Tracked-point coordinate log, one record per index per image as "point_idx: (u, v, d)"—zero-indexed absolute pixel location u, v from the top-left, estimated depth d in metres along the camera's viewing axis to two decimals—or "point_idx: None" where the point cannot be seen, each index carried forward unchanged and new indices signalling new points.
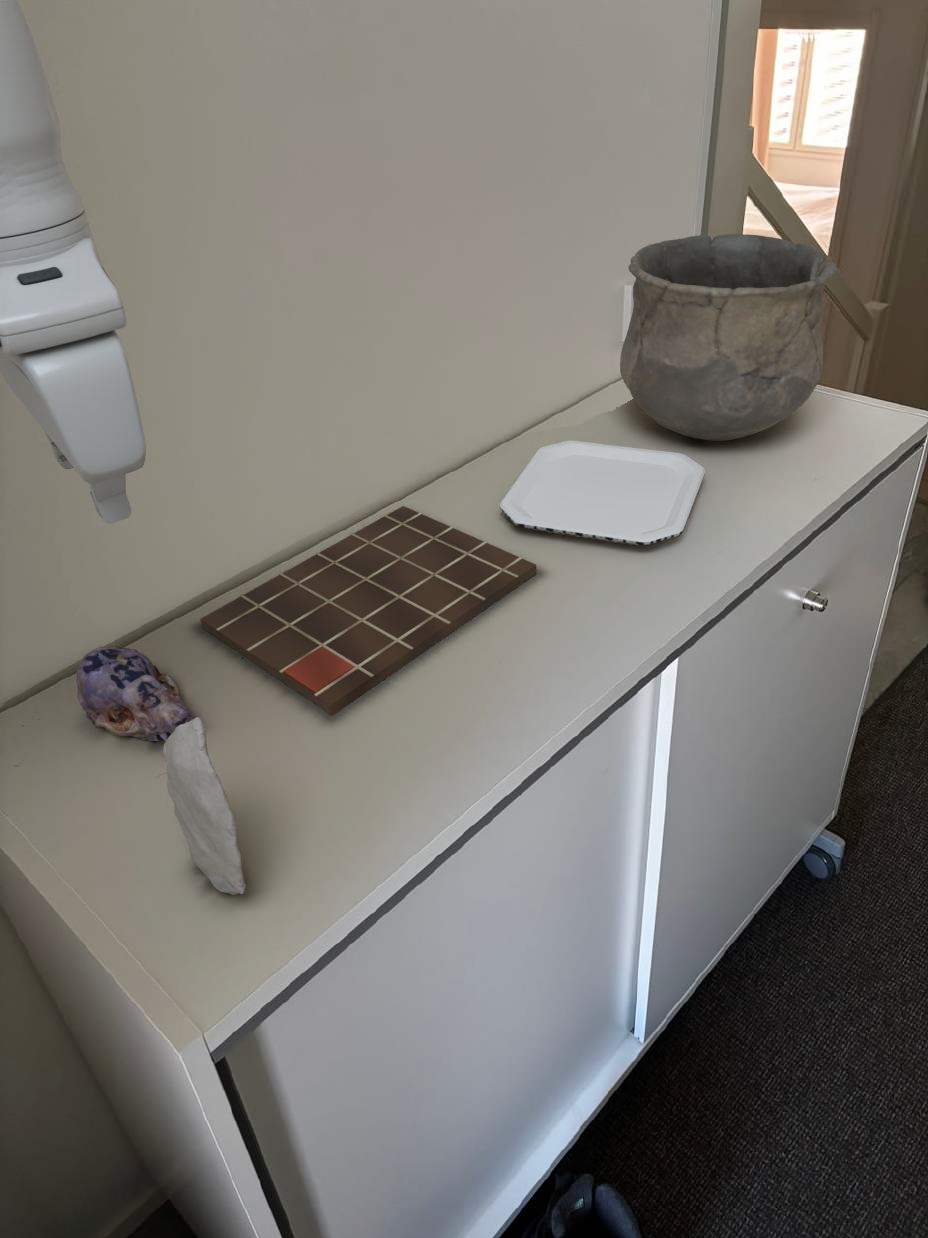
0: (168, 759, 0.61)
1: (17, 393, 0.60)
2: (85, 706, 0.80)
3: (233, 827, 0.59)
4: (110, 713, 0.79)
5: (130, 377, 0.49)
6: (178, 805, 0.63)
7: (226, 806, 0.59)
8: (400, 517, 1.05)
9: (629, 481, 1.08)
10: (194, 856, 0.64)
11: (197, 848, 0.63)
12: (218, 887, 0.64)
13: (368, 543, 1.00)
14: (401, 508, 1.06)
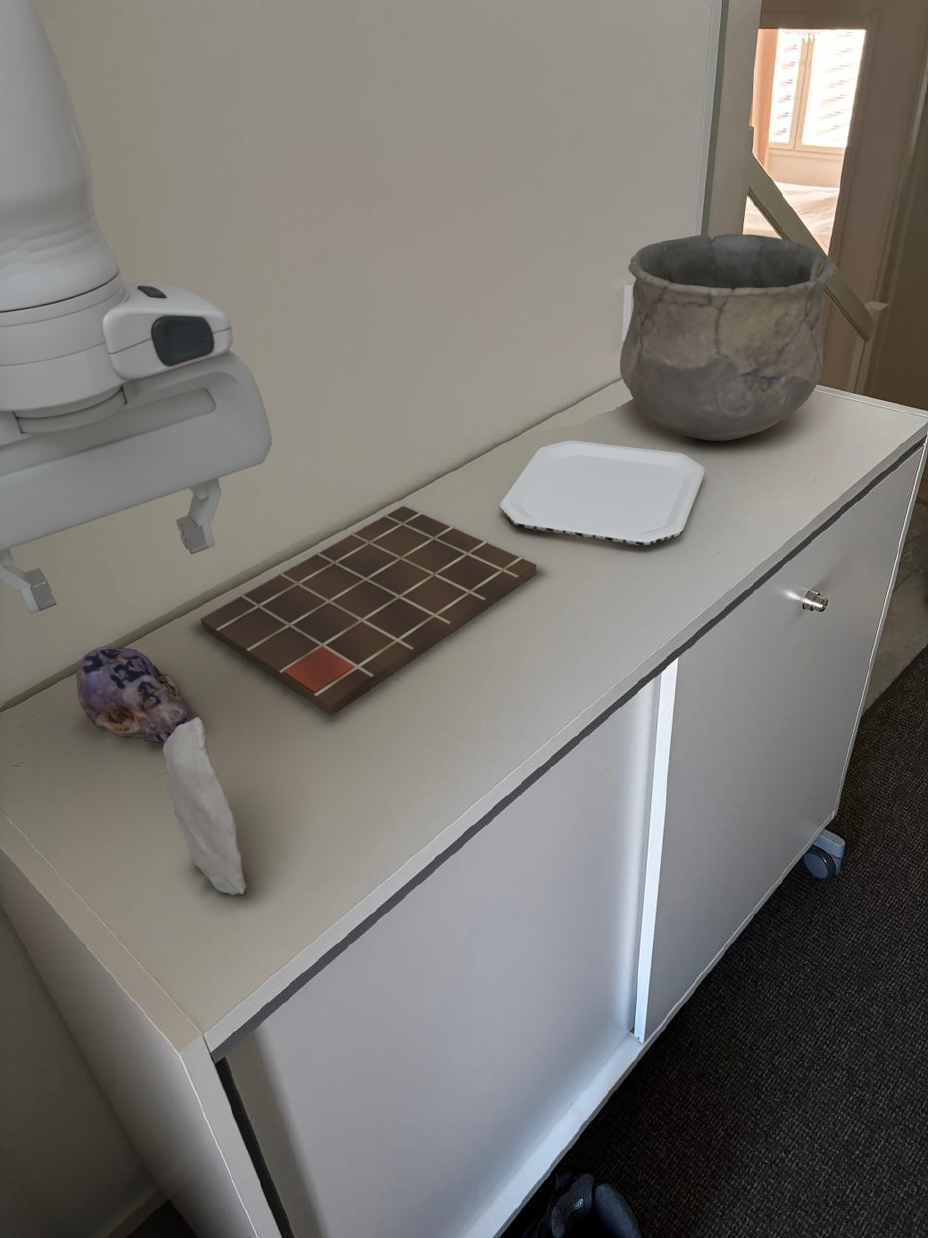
0: (168, 759, 0.61)
1: (11, 532, 0.47)
2: (85, 706, 0.80)
3: (233, 827, 0.59)
4: (110, 713, 0.79)
5: None
6: (178, 805, 0.63)
7: (226, 806, 0.59)
8: (400, 517, 1.05)
9: (629, 481, 1.08)
10: (194, 856, 0.64)
11: (197, 848, 0.63)
12: (218, 887, 0.64)
13: (368, 543, 1.00)
14: (401, 508, 1.06)
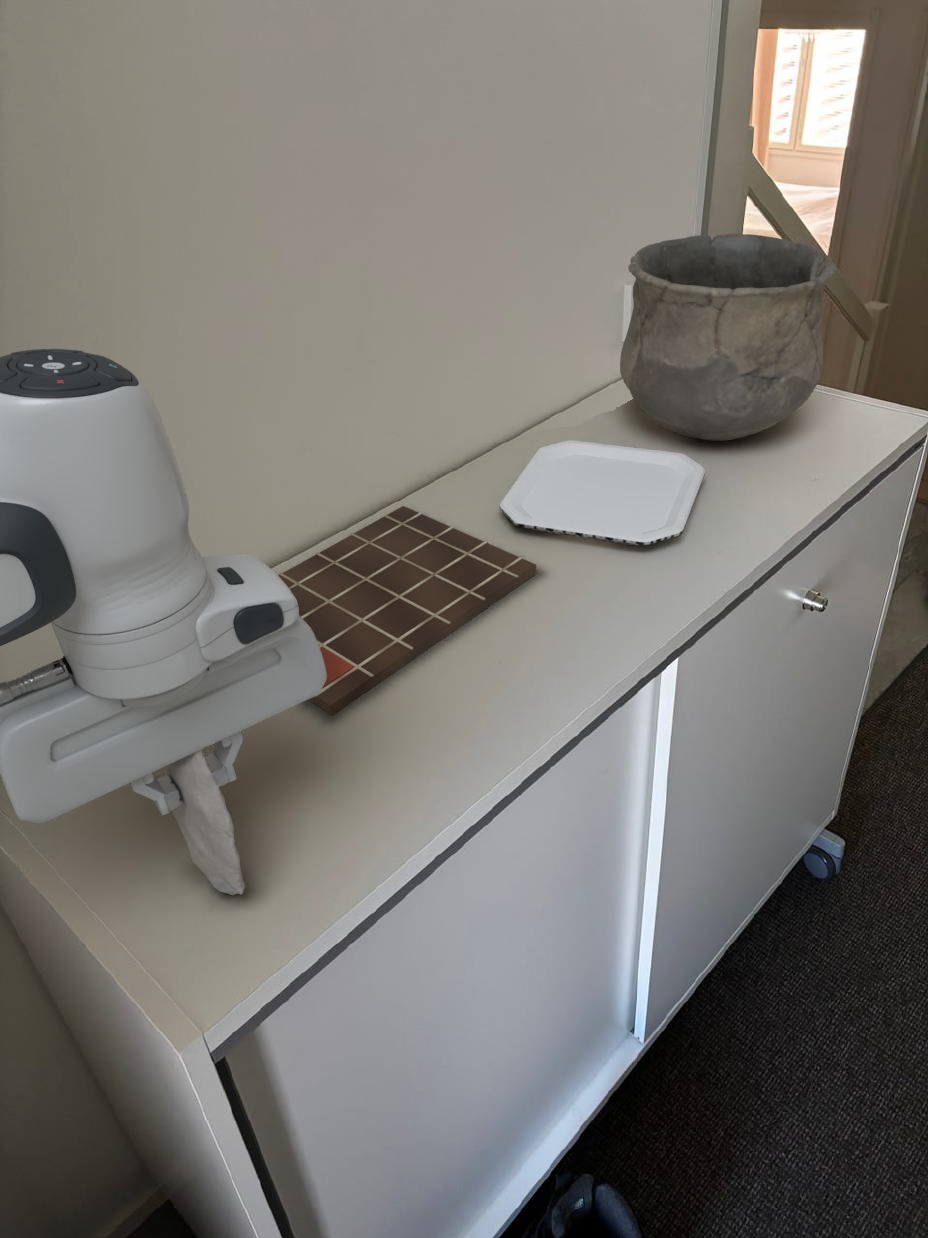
0: None
1: (110, 782, 0.55)
2: None
3: (231, 828, 0.59)
4: None
5: None
6: None
7: (223, 807, 0.59)
8: (400, 517, 1.05)
9: (629, 481, 1.08)
10: (193, 857, 0.64)
11: (196, 849, 0.63)
12: (218, 887, 0.64)
13: (368, 543, 1.00)
14: (401, 508, 1.06)
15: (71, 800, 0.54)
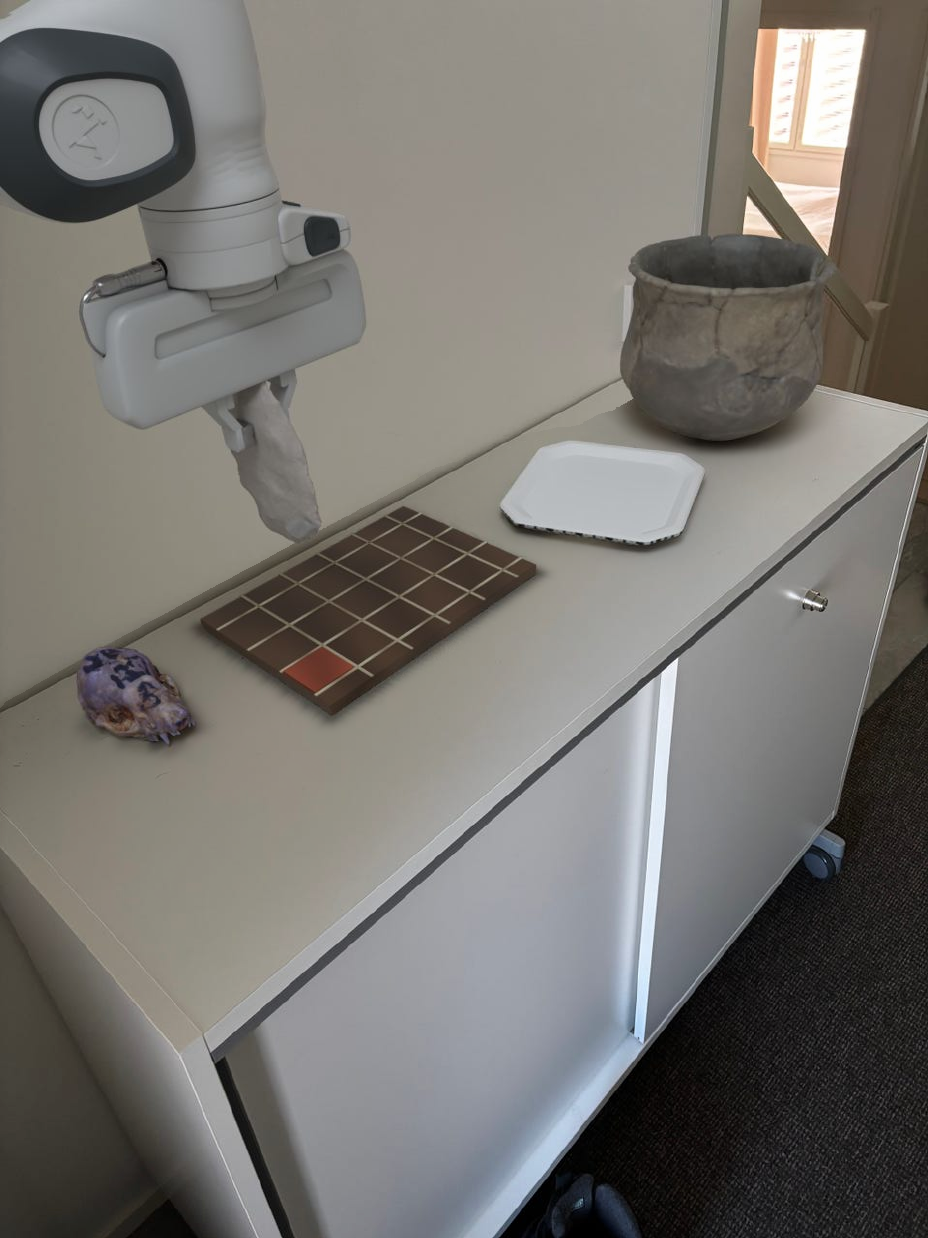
0: (231, 412, 0.67)
1: (200, 393, 0.60)
2: (85, 706, 0.80)
3: (304, 455, 0.66)
4: (110, 713, 0.79)
5: None
6: (246, 459, 0.69)
7: (294, 434, 0.65)
8: (400, 517, 1.05)
9: (629, 481, 1.08)
10: (268, 510, 0.71)
11: (271, 496, 0.70)
12: (295, 533, 0.71)
13: (368, 543, 1.00)
14: (401, 508, 1.06)
15: (170, 406, 0.59)
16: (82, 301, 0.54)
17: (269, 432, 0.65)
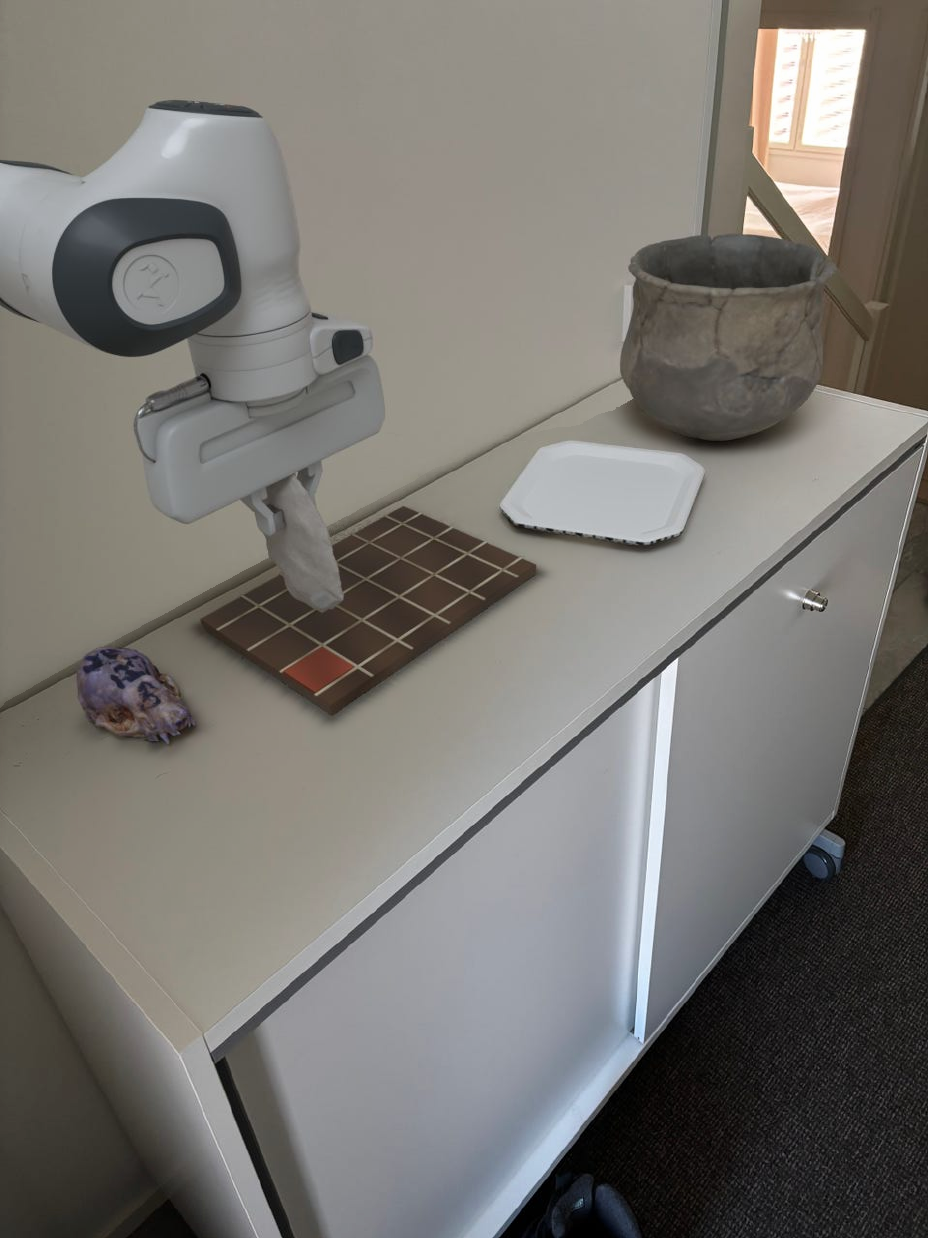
0: None
1: (238, 489, 0.67)
2: (85, 706, 0.80)
3: (329, 538, 0.72)
4: (110, 713, 0.79)
5: None
6: (275, 538, 0.76)
7: (321, 520, 0.72)
8: (400, 517, 1.05)
9: (629, 481, 1.08)
10: (295, 582, 0.78)
11: (298, 572, 0.76)
12: (319, 604, 0.78)
13: (368, 543, 1.00)
14: (401, 508, 1.06)
15: (211, 502, 0.66)
16: (137, 416, 0.61)
17: (298, 518, 0.72)
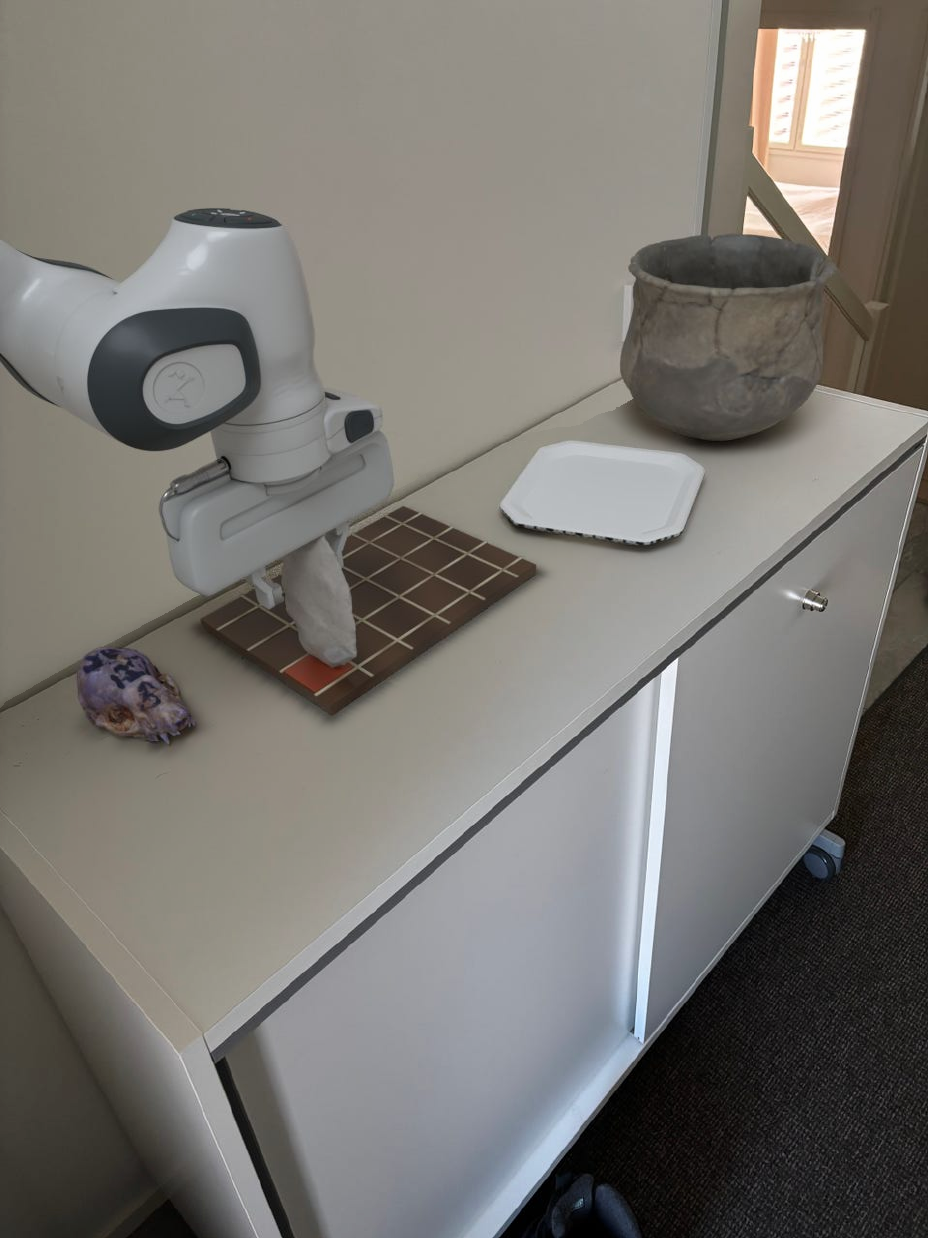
0: (289, 554, 0.78)
1: (256, 561, 0.71)
2: (85, 706, 0.80)
3: (350, 596, 0.77)
4: (110, 713, 0.79)
5: None
6: (297, 594, 0.80)
7: (344, 579, 0.76)
8: (400, 517, 1.05)
9: (629, 481, 1.08)
10: (310, 637, 0.81)
11: (315, 627, 0.80)
12: (332, 659, 0.82)
13: (368, 543, 1.00)
14: (401, 508, 1.06)
15: (231, 575, 0.70)
16: (162, 500, 0.65)
17: (322, 576, 0.76)
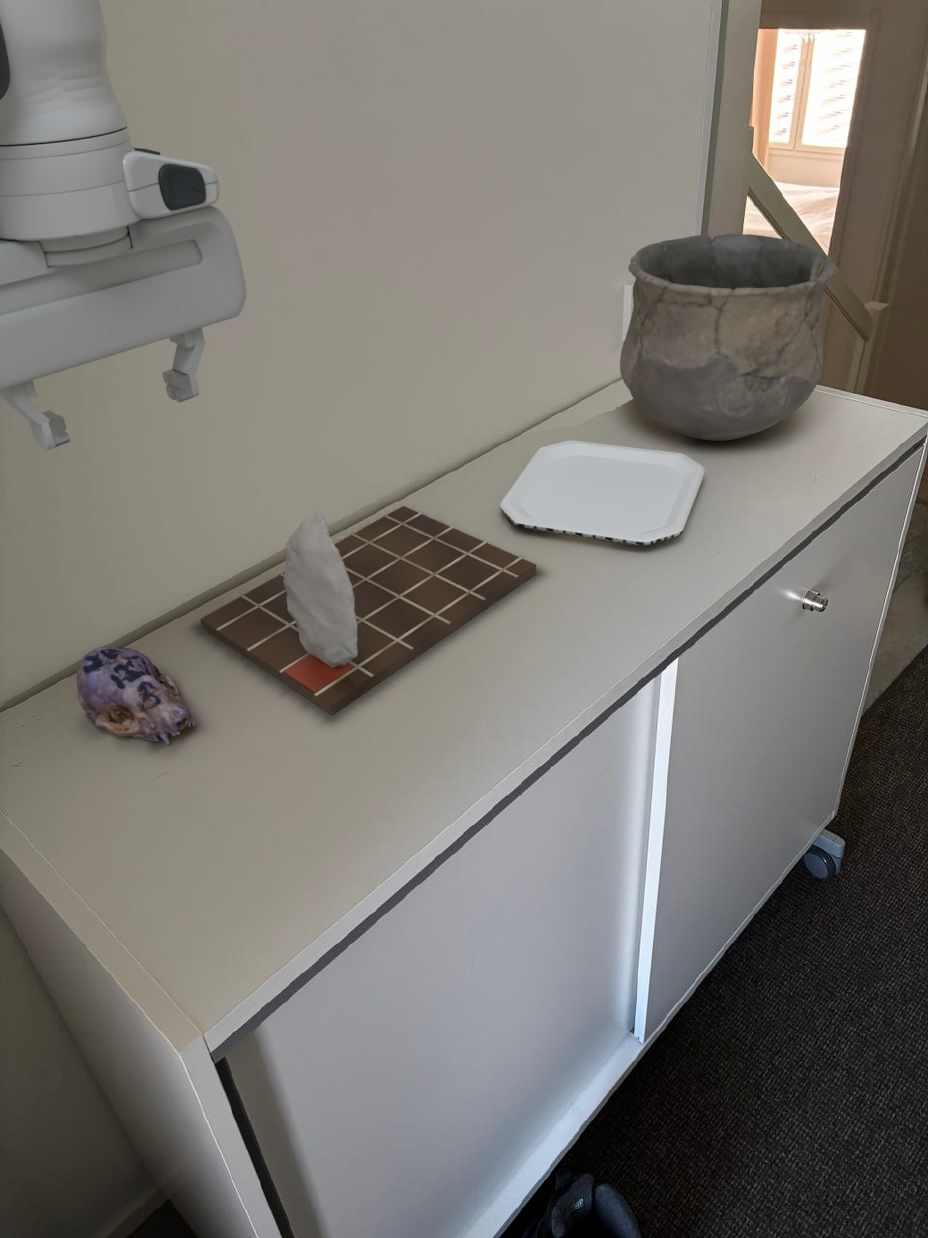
0: (292, 552, 0.78)
1: (38, 362, 0.53)
2: (85, 706, 0.80)
3: (352, 595, 0.77)
4: (110, 713, 0.79)
5: None
6: (299, 592, 0.80)
7: (347, 577, 0.76)
8: (400, 517, 1.05)
9: (629, 481, 1.08)
10: (311, 636, 0.81)
11: (316, 626, 0.80)
12: (332, 659, 0.82)
13: (368, 543, 1.00)
14: (401, 508, 1.06)
15: None
16: None
17: (326, 574, 0.76)
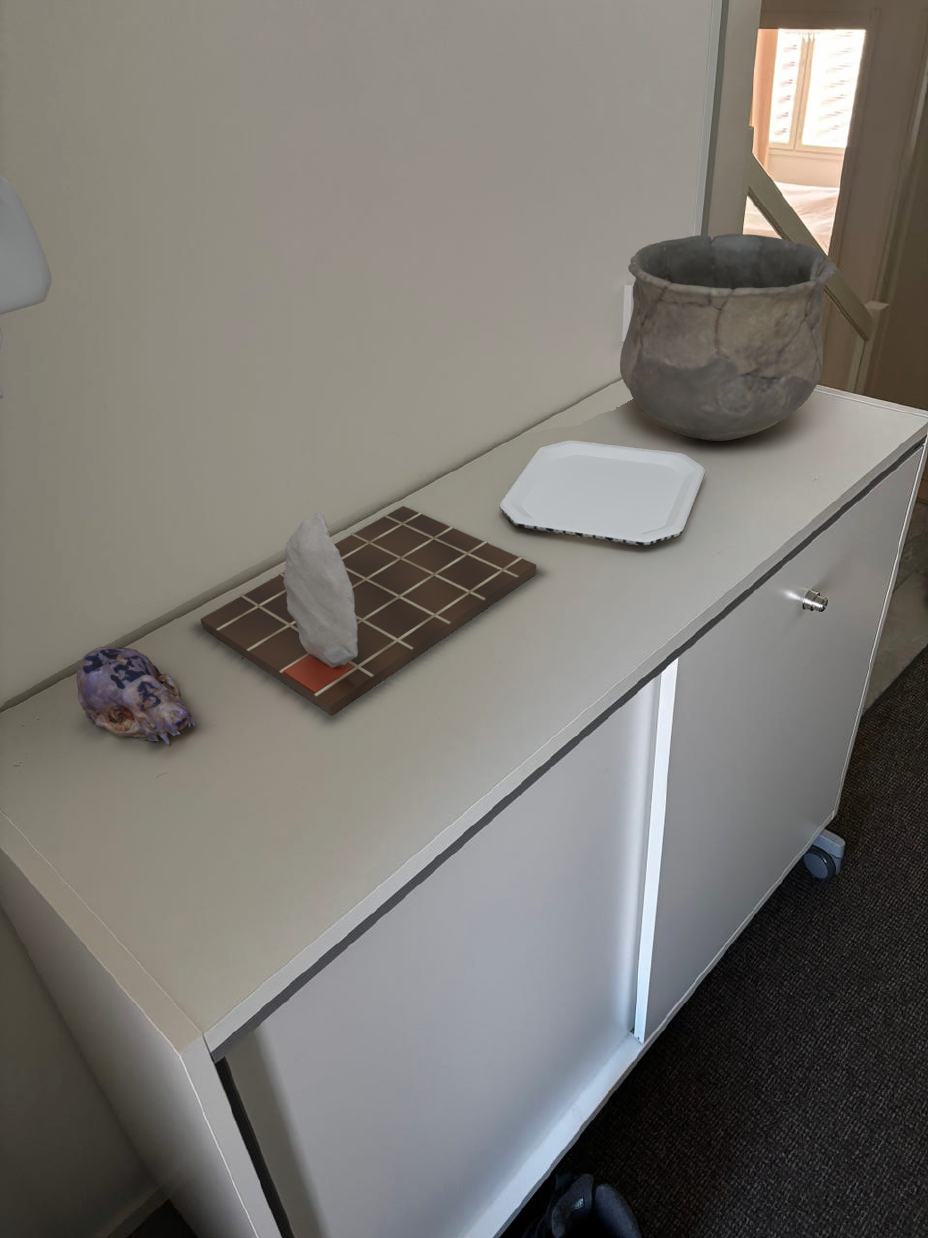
0: (292, 552, 0.78)
1: None
2: (85, 706, 0.80)
3: (352, 595, 0.77)
4: (110, 713, 0.79)
5: None
6: (299, 592, 0.80)
7: (347, 577, 0.76)
8: (400, 517, 1.05)
9: (629, 481, 1.08)
10: (311, 636, 0.81)
11: (316, 626, 0.80)
12: (332, 659, 0.82)
13: (368, 543, 1.00)
14: (401, 508, 1.06)
15: None
16: None
17: (326, 574, 0.76)
